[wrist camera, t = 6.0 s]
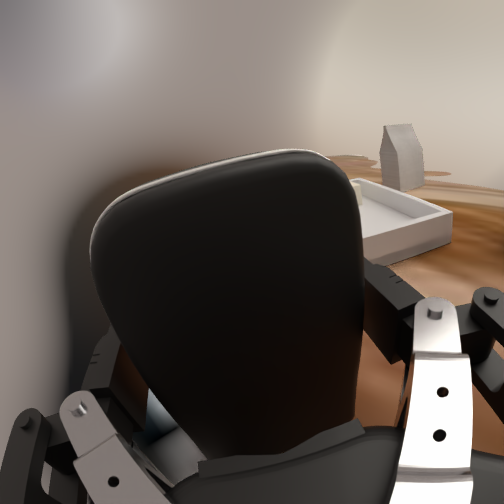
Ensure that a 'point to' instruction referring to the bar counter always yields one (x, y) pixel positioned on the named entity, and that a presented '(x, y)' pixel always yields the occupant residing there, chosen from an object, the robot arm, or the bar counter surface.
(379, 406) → the bar counter surface
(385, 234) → the tray
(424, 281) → the bar counter surface
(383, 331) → the robot arm
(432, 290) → the bar counter surface
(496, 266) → the bar counter surface
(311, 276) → the battery charger
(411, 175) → the tea bag
